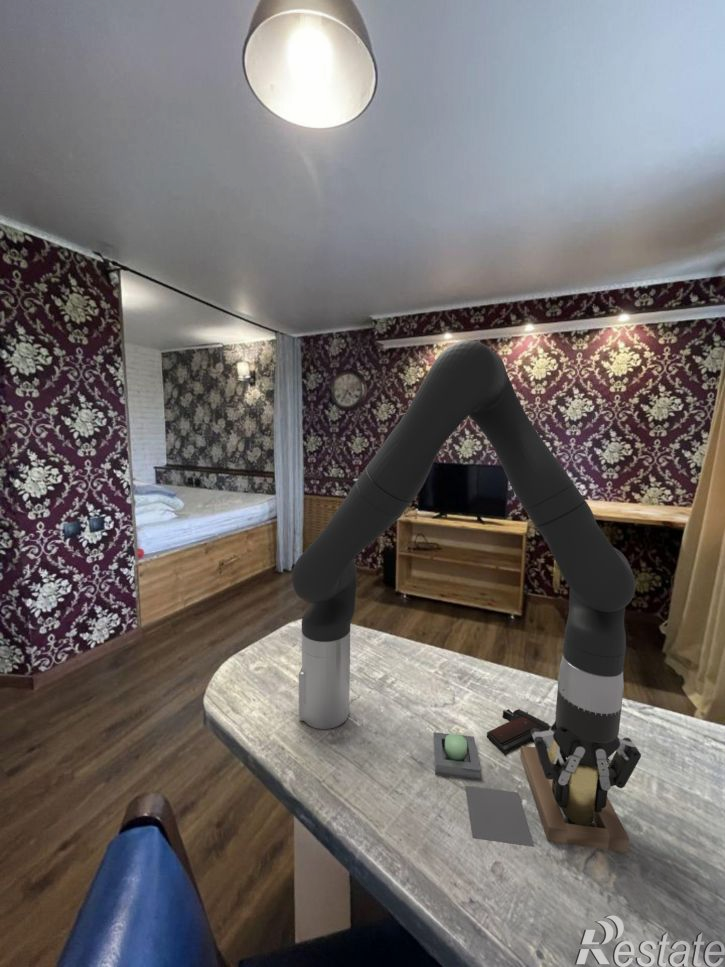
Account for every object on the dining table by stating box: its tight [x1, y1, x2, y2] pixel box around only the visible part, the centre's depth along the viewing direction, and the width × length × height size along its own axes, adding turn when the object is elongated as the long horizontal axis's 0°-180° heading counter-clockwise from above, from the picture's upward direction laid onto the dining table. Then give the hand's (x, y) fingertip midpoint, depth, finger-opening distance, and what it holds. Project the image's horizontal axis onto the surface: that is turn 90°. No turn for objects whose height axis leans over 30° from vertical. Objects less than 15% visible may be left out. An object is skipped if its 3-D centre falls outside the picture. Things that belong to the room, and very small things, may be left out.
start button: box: [445, 733, 467, 761], centre depth 66 cm, size 4×4×2 cm
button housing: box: [432, 731, 482, 781], centre depth 66 cm, size 7×7×2 cm
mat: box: [464, 785, 535, 847], centre depth 57 cm, size 8×8×1 cm
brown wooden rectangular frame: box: [519, 745, 630, 853], centre depth 59 cm, size 10×14×2 cm
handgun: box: [486, 708, 608, 761], centre depth 69 cm, size 2×17×12 cm
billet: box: [560, 757, 598, 827], centre depth 55 cm, size 4×4×8 cm
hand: (577, 803), depth 56 cm, fingers closed on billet, 4 cm apart
